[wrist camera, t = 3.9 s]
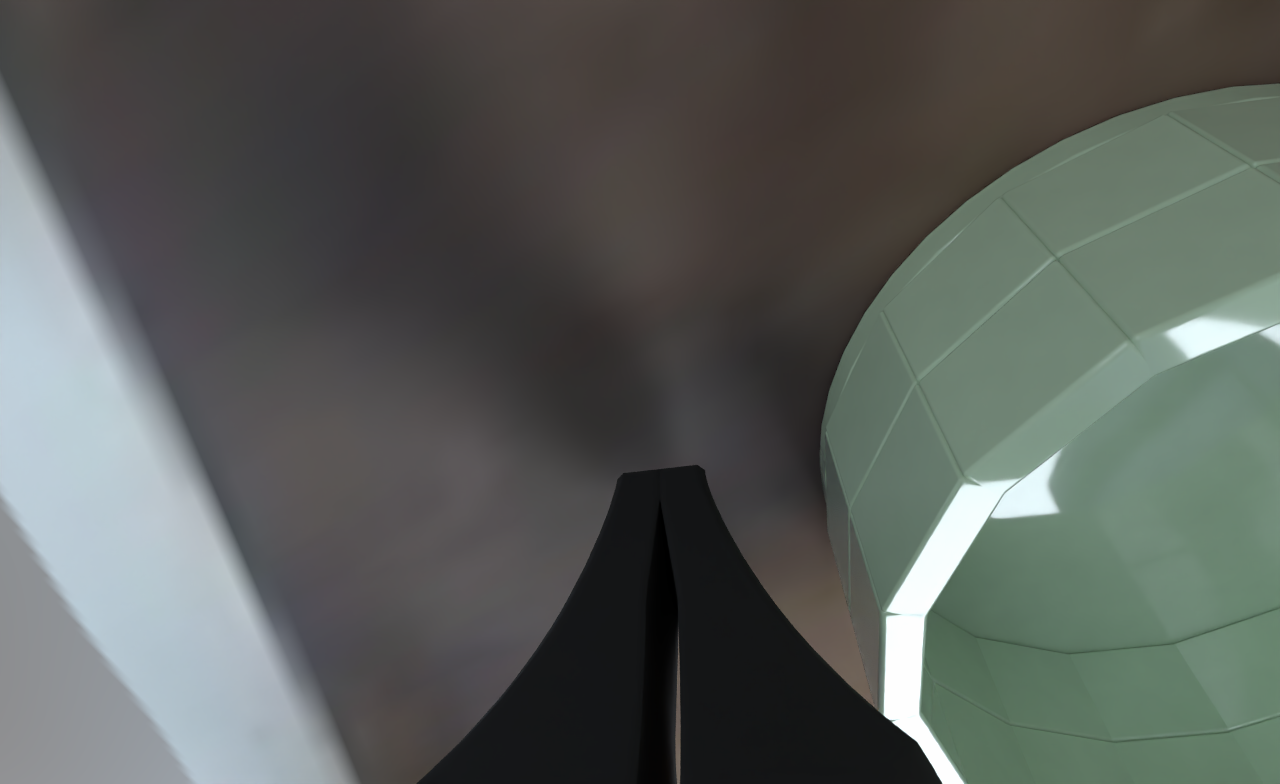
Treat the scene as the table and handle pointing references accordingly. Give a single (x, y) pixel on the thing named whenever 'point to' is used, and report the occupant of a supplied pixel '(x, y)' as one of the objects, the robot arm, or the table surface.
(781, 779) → the robot arm
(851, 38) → the table surface
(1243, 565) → the pot
